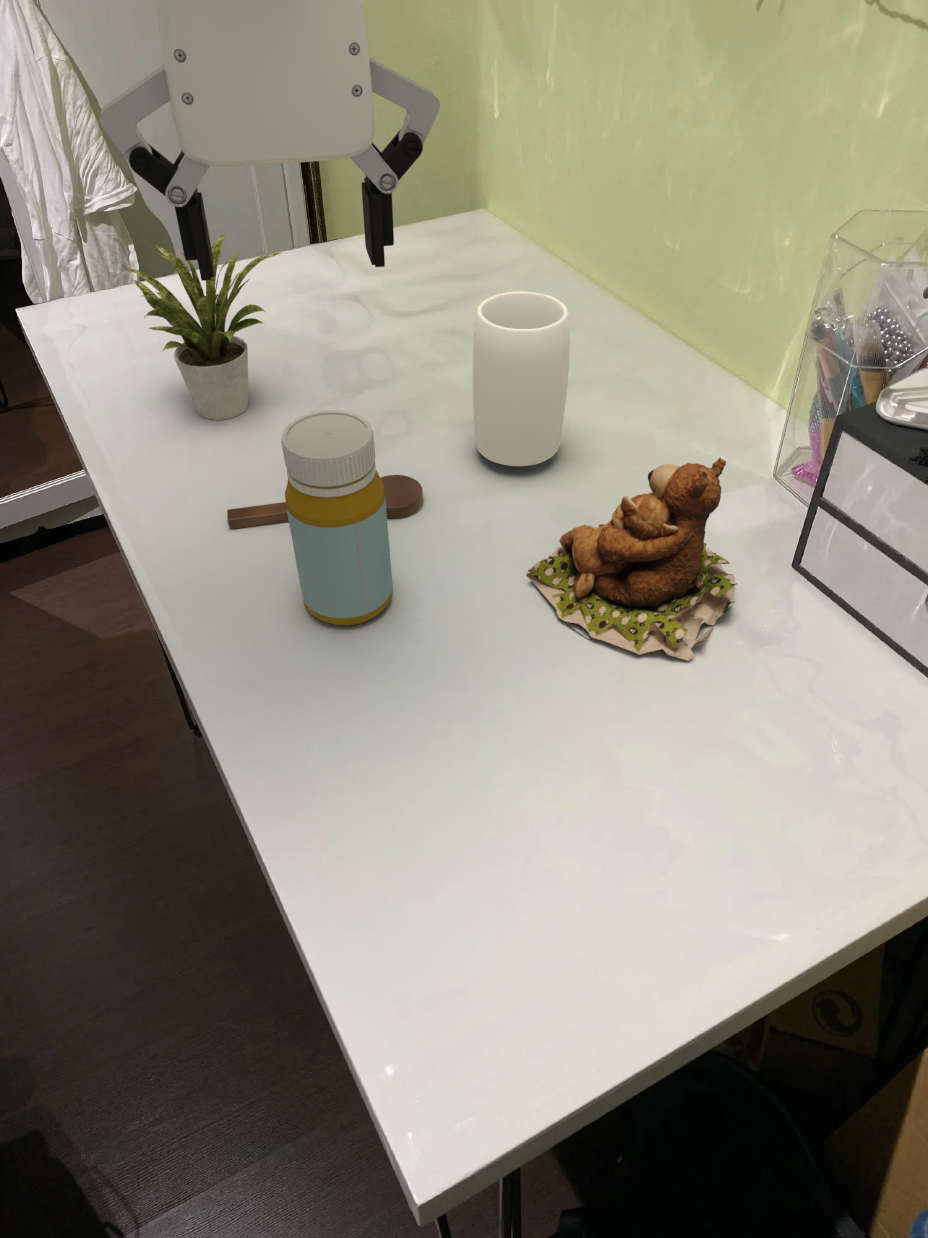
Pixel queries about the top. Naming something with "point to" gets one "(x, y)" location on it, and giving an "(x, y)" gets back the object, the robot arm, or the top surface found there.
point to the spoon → (399, 498)
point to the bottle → (337, 517)
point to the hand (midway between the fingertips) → (292, 264)
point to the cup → (520, 377)
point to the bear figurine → (645, 567)
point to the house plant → (207, 335)
